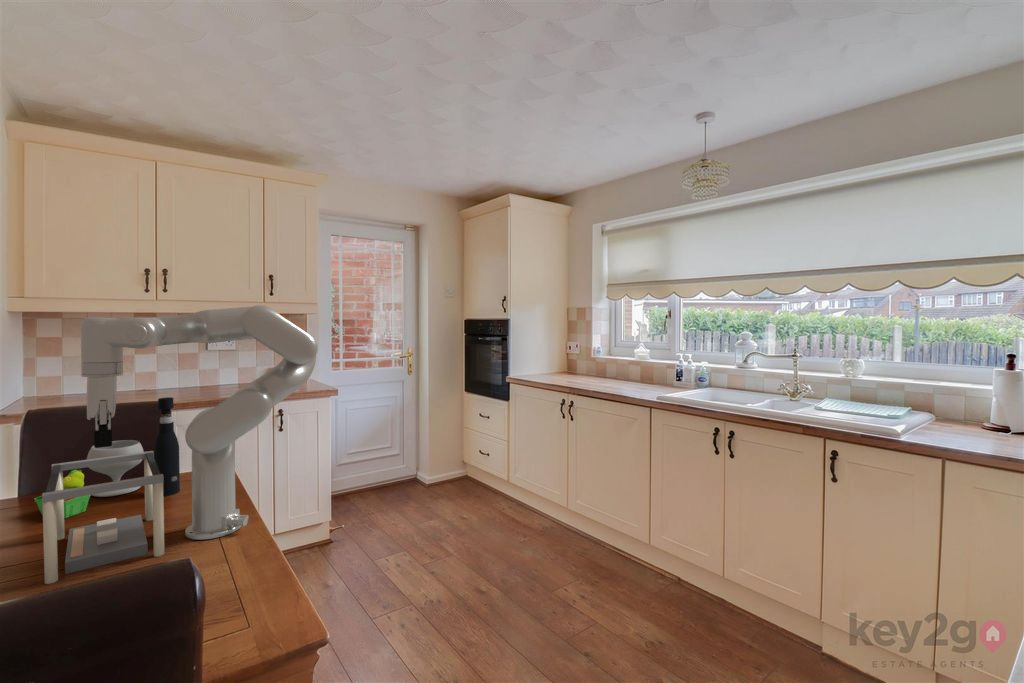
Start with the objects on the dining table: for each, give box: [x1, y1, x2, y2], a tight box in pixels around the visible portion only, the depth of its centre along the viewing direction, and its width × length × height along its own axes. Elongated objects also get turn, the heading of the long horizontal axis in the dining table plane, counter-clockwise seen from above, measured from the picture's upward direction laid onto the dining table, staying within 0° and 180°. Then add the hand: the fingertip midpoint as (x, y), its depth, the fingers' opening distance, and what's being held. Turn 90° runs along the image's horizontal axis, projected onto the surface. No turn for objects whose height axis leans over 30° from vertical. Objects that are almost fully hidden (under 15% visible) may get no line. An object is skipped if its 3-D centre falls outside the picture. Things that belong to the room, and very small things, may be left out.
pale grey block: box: [97, 528, 118, 545], centre depth 111 cm, size 2×4×2 cm, turn 131°
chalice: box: [86, 439, 145, 498], centre depth 152 cm, size 14×14×15 cm
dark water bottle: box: [153, 396, 181, 497], centre depth 150 cm, size 6×6×30 cm
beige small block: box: [96, 517, 117, 532], centre depth 117 cm, size 2×4×2 cm, turn 131°
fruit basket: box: [34, 469, 92, 519], centre depth 135 cm, size 11×9×11 cm
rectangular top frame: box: [41, 450, 164, 503], centre depth 114 cm, size 28×20×2 cm
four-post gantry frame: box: [42, 459, 165, 585], centre depth 114 cm, size 28×20×17 cm
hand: (103, 446), depth 114 cm, fingers closed
